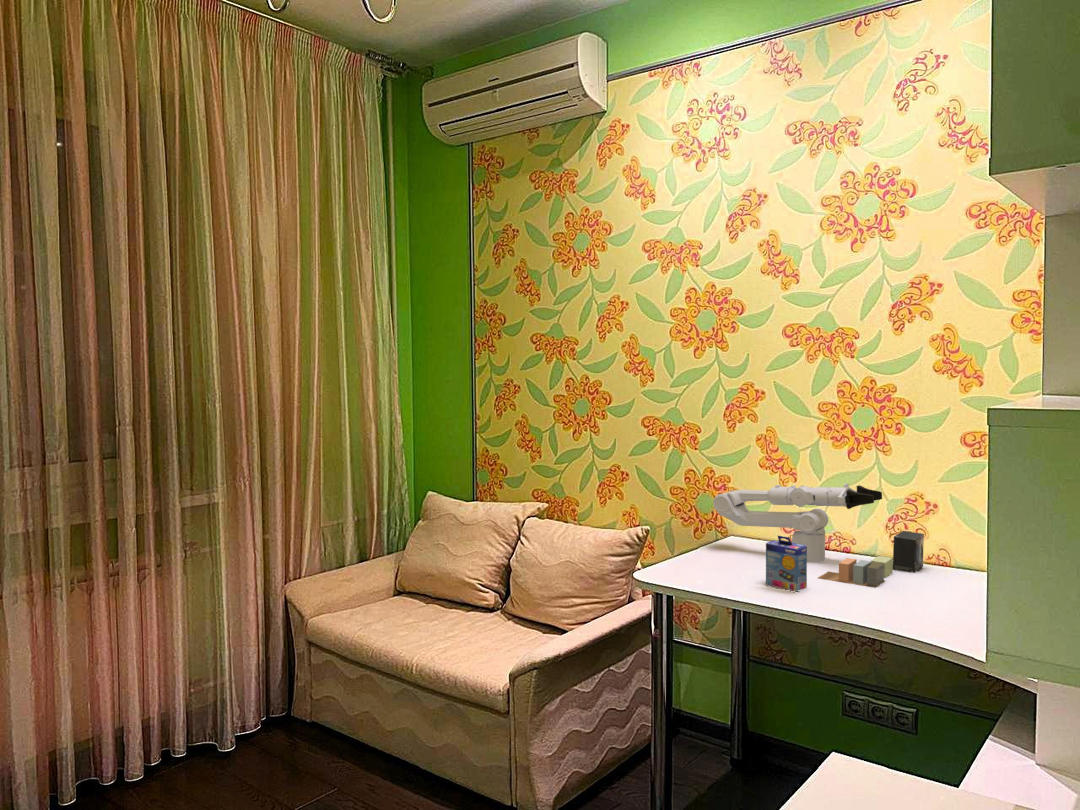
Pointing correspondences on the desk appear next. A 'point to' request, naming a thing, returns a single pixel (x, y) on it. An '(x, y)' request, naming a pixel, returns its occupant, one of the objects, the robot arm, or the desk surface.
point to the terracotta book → (846, 569)
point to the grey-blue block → (860, 572)
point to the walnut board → (835, 577)
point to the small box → (908, 551)
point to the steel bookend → (875, 574)
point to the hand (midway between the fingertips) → (877, 497)
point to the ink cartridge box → (786, 564)
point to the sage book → (885, 564)
